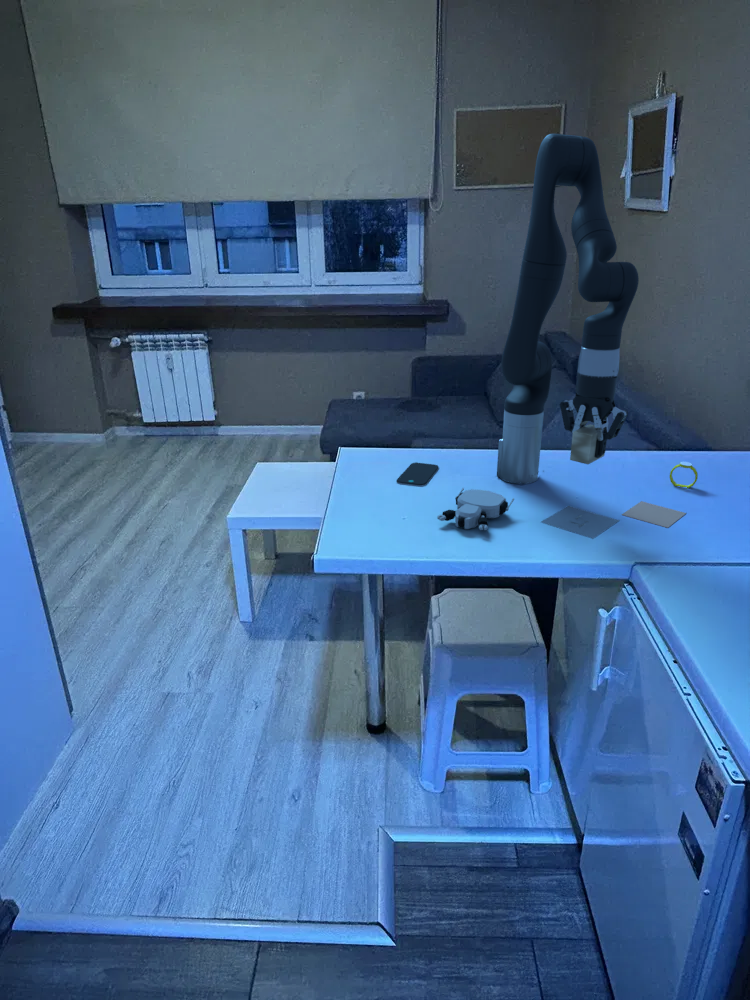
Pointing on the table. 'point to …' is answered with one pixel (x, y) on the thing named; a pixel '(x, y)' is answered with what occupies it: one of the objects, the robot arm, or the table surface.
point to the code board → (580, 521)
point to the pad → (654, 514)
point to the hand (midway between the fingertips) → (587, 454)
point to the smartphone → (417, 474)
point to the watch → (684, 465)
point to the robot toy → (476, 508)
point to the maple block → (584, 445)
